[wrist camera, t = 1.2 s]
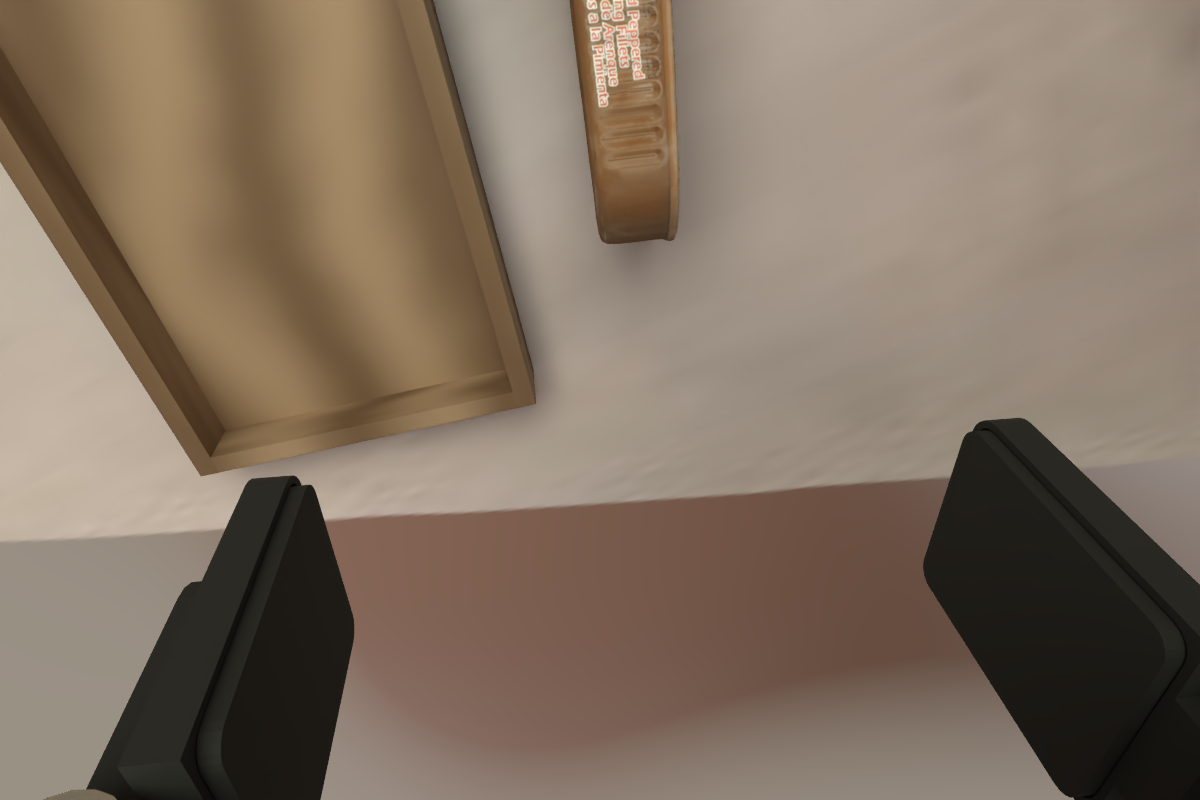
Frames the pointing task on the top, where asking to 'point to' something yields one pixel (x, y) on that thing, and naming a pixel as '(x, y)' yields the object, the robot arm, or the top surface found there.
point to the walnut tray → (267, 214)
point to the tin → (629, 115)
